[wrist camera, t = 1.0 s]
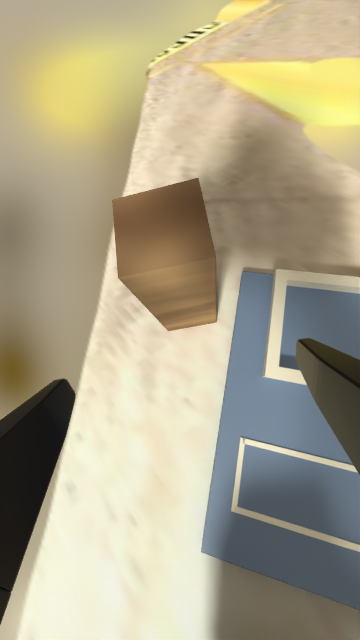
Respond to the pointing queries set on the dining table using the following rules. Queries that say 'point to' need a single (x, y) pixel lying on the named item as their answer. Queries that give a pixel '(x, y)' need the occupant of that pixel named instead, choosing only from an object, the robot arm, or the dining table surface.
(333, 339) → the blueprint board
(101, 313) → the dining table surface
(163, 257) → the walnut column
